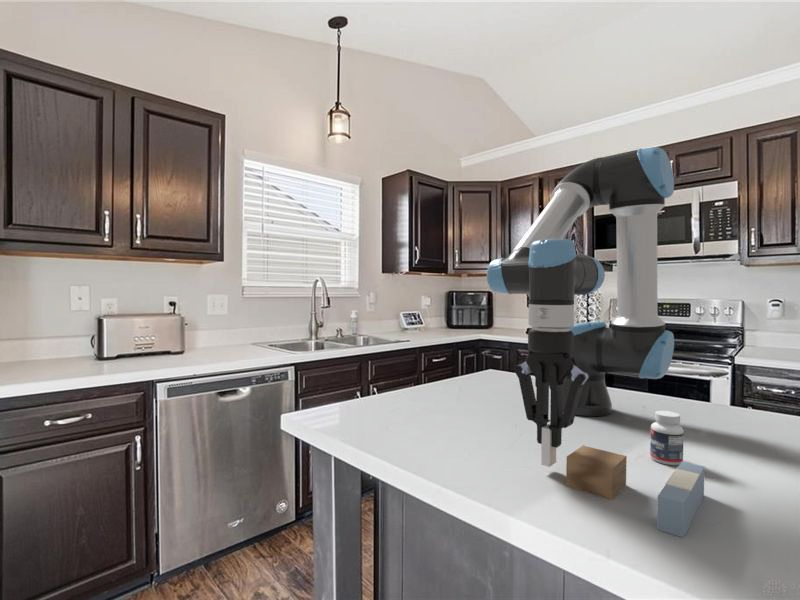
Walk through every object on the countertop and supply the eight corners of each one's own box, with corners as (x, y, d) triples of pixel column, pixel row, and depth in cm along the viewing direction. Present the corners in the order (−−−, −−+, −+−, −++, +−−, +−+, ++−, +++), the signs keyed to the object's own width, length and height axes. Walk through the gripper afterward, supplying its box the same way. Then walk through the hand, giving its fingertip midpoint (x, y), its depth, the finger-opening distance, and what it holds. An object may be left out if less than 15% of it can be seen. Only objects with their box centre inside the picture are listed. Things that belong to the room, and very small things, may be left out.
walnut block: (566, 486, 72) (566, 456, 71) (582, 473, 77) (583, 445, 77) (611, 501, 67) (612, 468, 67) (626, 486, 72) (626, 456, 72)
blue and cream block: (657, 528, 59) (657, 494, 59) (681, 489, 71) (681, 459, 70) (683, 537, 57) (684, 501, 57) (703, 494, 69) (704, 465, 68)
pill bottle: (644, 455, 85) (644, 409, 85) (669, 454, 85) (670, 409, 85) (662, 466, 80) (663, 417, 79) (689, 465, 80) (690, 417, 80)
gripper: (506, 327, 78) (504, 459, 79) (580, 333, 69) (578, 481, 70) (525, 325, 84) (524, 448, 84) (597, 330, 75) (594, 467, 75)
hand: (548, 463), depth 77 cm, fingers closed
